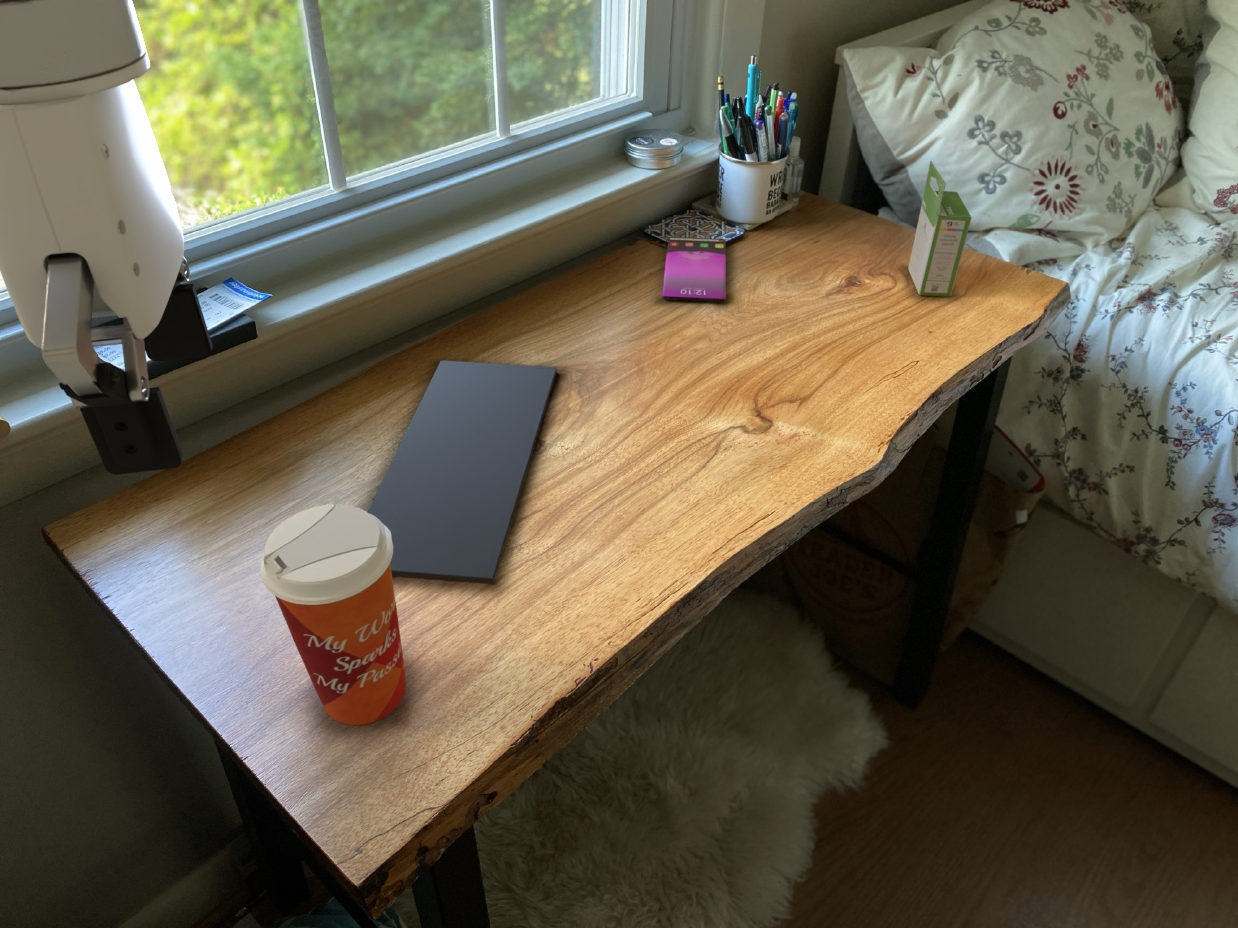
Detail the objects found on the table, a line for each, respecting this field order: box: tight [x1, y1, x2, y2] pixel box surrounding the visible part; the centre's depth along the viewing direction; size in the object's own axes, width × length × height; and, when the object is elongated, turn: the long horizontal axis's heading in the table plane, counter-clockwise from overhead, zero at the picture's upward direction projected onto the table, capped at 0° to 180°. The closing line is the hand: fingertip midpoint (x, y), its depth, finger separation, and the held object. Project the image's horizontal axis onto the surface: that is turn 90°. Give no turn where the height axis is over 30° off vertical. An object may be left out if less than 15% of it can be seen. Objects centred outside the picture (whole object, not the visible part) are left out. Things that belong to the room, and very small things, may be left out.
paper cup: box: [259, 503, 407, 726], centre depth 59 cm, size 8×8×14 cm
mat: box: [366, 360, 558, 585], centre depth 83 cm, size 30×12×1 cm, turn 174°
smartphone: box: [661, 236, 727, 303], centre depth 111 cm, size 7×15×1 cm, turn 175°
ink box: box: [907, 160, 972, 298], centre depth 105 cm, size 7×4×13 cm, turn 177°
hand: (166, 407), depth 46 cm, fingers open, 9 cm apart
